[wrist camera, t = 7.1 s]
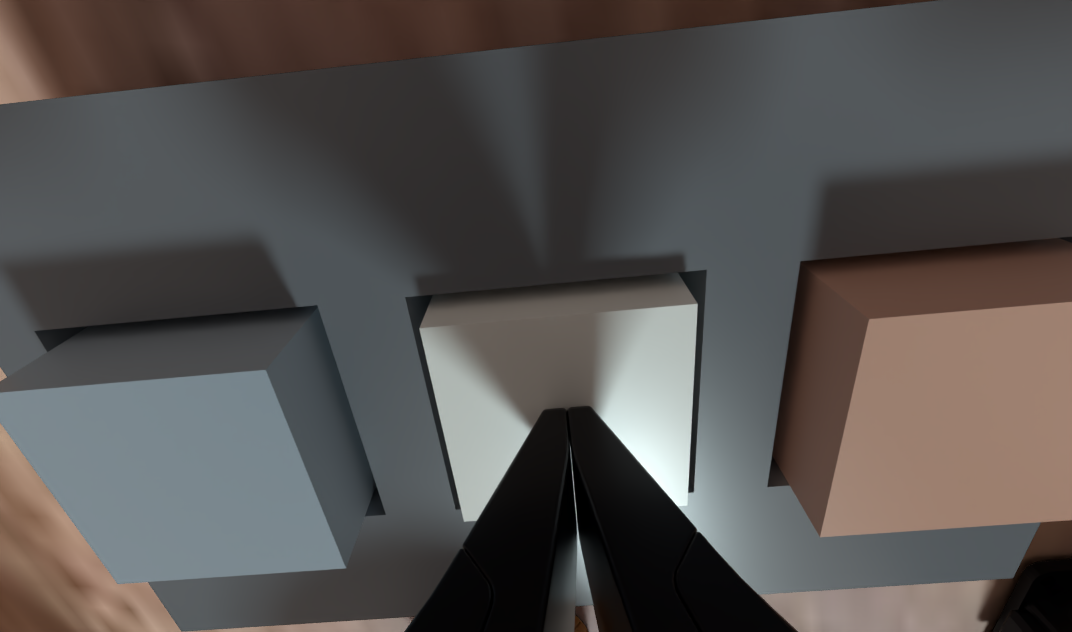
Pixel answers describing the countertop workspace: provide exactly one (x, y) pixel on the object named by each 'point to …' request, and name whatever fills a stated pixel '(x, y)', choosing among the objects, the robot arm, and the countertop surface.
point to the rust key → (930, 389)
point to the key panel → (549, 241)
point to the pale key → (563, 372)
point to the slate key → (197, 444)
